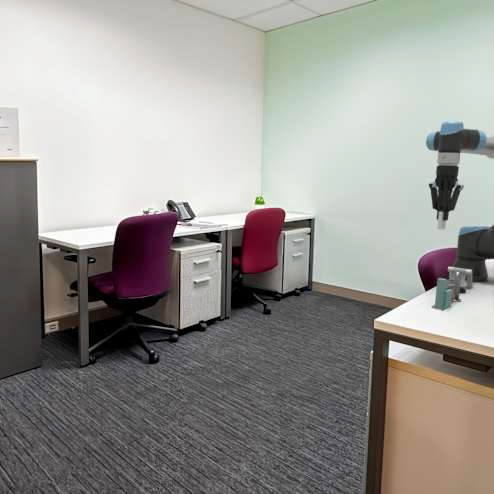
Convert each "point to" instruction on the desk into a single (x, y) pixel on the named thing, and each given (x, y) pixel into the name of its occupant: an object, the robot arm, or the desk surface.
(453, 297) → the gate
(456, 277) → the hinge post
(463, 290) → the camera
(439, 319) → the desk surface
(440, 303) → the stile
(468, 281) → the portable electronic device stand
